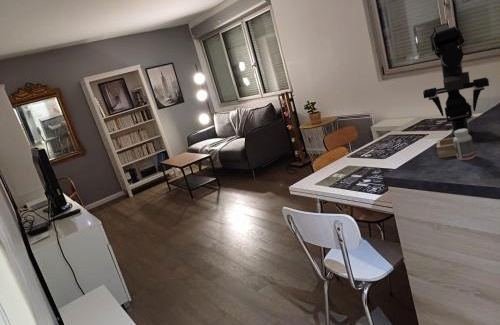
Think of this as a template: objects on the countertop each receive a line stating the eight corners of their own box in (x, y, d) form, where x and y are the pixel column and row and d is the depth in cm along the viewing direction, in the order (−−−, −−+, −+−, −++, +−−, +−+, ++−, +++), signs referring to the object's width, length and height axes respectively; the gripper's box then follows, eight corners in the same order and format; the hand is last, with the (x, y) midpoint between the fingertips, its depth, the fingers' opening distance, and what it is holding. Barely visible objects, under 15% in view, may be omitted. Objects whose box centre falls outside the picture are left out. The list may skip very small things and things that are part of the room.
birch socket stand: (438, 150, 136) (436, 140, 135) (464, 145, 131) (462, 135, 130) (438, 157, 129) (436, 147, 128) (466, 153, 124) (464, 143, 123)
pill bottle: (478, 154, 120) (473, 127, 118) (470, 160, 118) (465, 133, 115) (461, 154, 125) (456, 128, 123) (453, 160, 122) (448, 133, 120)
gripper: (419, 74, 117) (426, 121, 118) (487, 58, 107) (493, 110, 109) (421, 74, 126) (428, 117, 128) (484, 60, 116) (490, 107, 118)
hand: (458, 113), depth 120 cm, fingers open, 9 cm apart
